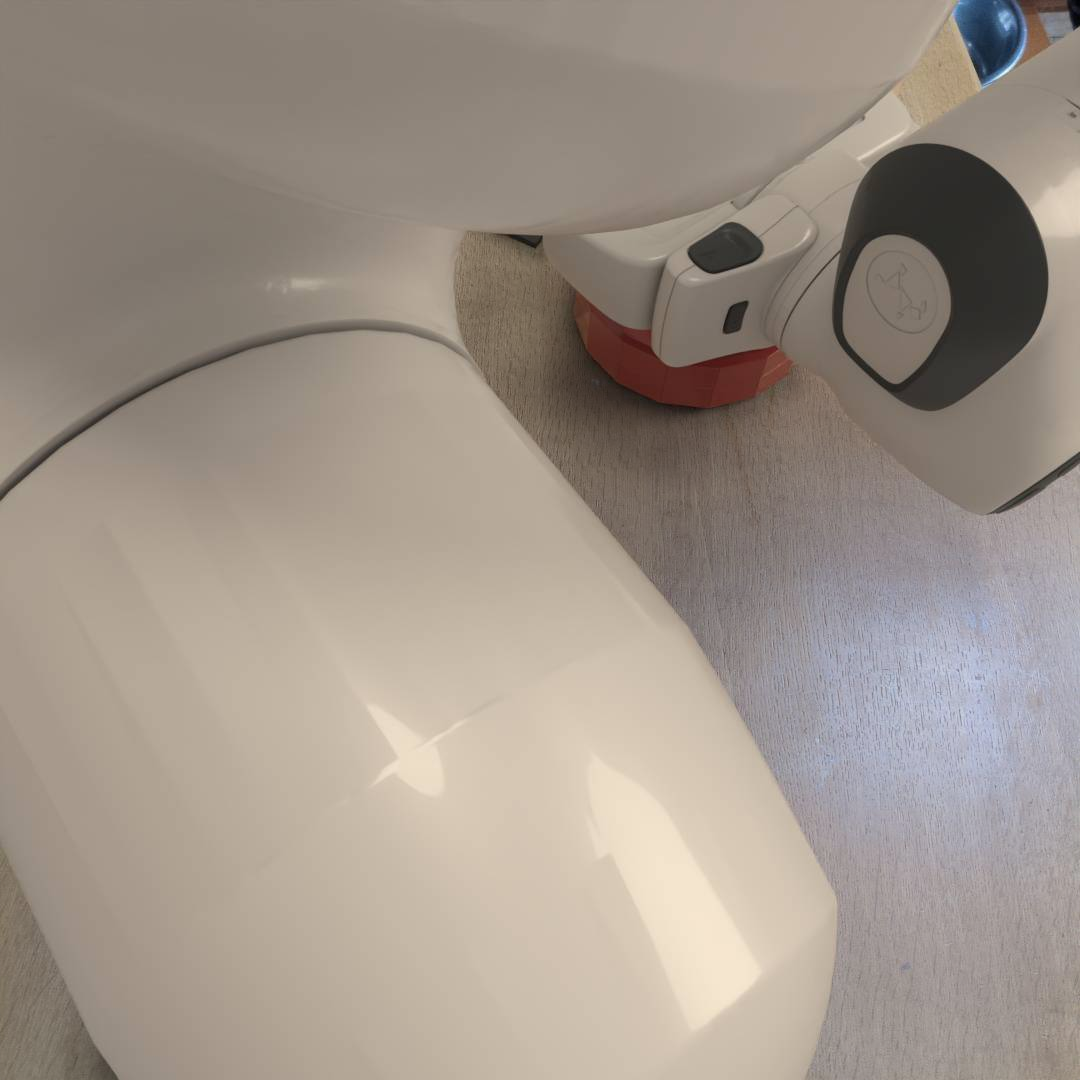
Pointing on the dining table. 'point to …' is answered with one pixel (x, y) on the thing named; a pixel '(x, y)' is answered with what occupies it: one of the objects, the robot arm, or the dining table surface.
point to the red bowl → (688, 385)
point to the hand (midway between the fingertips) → (632, 88)
